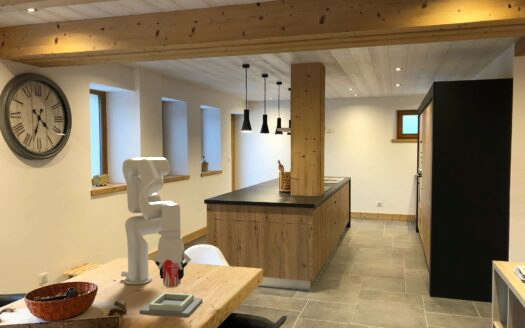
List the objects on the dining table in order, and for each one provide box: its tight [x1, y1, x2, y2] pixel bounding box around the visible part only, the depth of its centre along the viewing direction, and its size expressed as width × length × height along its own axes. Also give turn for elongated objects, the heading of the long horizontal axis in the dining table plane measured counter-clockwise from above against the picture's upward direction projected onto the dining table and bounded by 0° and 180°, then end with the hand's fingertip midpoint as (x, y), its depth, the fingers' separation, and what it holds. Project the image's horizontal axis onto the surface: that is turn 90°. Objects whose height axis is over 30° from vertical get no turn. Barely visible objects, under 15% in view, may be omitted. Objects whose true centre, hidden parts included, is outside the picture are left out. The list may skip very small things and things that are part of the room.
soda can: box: [162, 258, 182, 289], centre depth 166 cm, size 7×7×12 cm
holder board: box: [139, 292, 203, 317], centre depth 166 cm, size 20×16×3 cm
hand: (171, 277), depth 166 cm, fingers closed on soda can, 7 cm apart
